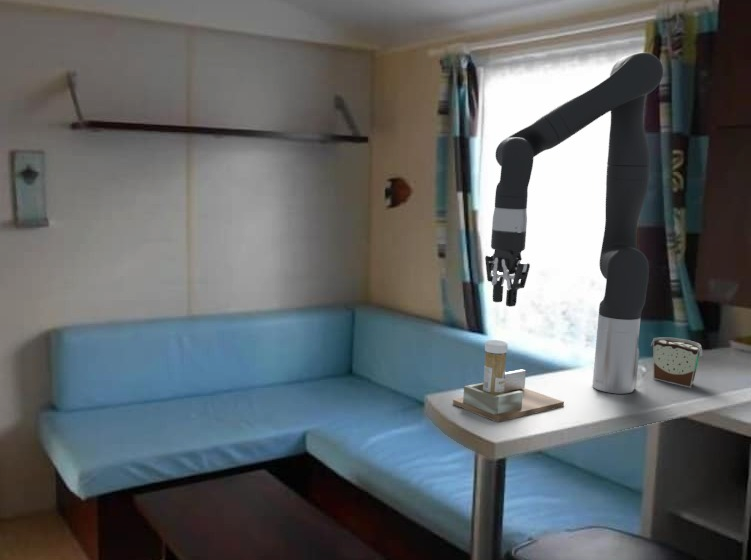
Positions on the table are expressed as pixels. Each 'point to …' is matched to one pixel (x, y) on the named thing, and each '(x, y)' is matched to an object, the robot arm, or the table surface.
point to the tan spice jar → (494, 367)
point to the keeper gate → (514, 380)
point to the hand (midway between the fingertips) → (504, 303)
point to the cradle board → (505, 403)
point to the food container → (675, 360)
